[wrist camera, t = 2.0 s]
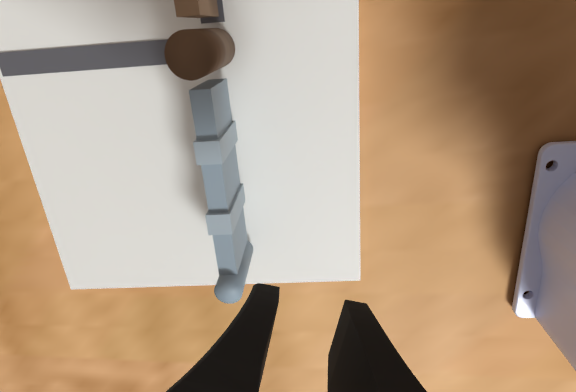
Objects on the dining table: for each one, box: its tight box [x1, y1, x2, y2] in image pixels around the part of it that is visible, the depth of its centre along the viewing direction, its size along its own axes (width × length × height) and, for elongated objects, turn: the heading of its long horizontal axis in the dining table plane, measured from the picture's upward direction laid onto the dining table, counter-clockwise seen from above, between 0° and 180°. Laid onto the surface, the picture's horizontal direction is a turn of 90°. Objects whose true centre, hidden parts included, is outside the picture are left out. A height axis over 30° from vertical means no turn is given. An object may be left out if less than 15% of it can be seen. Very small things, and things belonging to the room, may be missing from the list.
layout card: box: [0, 0, 360, 289], centre depth 18 cm, size 21×16×1 cm
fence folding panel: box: [189, 78, 253, 303], centre depth 18 cm, size 9×1×4 cm, turn 4°
